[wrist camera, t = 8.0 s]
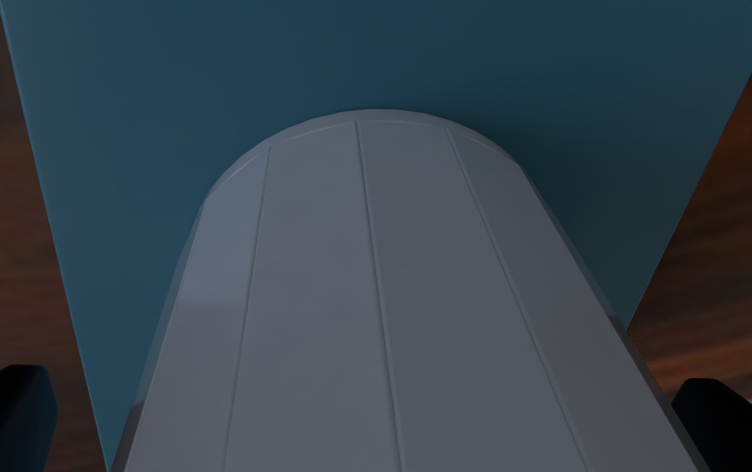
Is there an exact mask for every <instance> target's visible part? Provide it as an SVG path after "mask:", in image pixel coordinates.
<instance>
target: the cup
mask: <svg viewBox="0 0 752 472" xmlns="http://www.w3.org/2000/svg"><path fill="white" fill-rule="evenodd" d="M110 472H711V470H710V469H709V467H708V465H707V464H706V462H705V460H704V459H703V457H702V455H701V454H700V452H699V450H698V449H697V447H696V445H695V444H694V442H693V441H692V439H691V437H690V436H689V434H688V432H687V431H686V429H685V427H684V426H683V424H682V422H681V421H680V419H679V417H678V416H677V414H676V412H675V411H674V409H673V408H672V406H671V404H670V403H669V401H668V399H667V398H666V396H665V394H664V393H663V391H662V389H661V388H660V386H659V384H658V383H657V381H656V379H655V378H654V376H653V375H652V373H651V371H650V370H649V368H648V366H647V365H646V363H645V361H644V360H643V358H642V356H641V355H640V353H639V351H638V350H637V348H636V346H635V345H634V343H633V342H632V340H631V338H630V337H629V335H628V333H627V332H626V330H625V328H624V327H623V325H622V323H621V322H620V320H619V318H618V317H617V315H616V314H615V312H614V310H613V309H612V307H611V305H610V304H609V302H608V300H607V299H606V297H605V295H604V294H603V292H602V290H601V289H600V287H599V285H598V284H597V282H596V281H595V279H594V277H593V276H592V274H591V272H590V271H589V269H588V267H587V266H586V264H585V262H584V261H583V259H582V257H581V256H580V254H579V252H578V251H577V249H576V248H575V246H574V244H573V243H572V241H571V239H570V238H569V236H568V234H567V233H566V231H565V229H564V228H563V226H562V224H561V223H560V221H559V220H558V218H557V216H556V215H555V213H554V212H553V211H552V209H551V208H550V207H549V205H548V204H547V202H546V201H545V200H544V198H543V197H542V196H541V194H540V193H539V191H538V190H537V188H536V186H535V185H534V183H533V182H532V180H531V178H530V177H529V175H528V174H527V173H526V172H525V171H524V169H523V168H522V167H521V166H520V165H519V164H518V163H517V161H516V160H515V159H514V158H513V157H512V156H510V155H509V154H508V153H507V152H506V151H504V150H503V149H502V148H501V147H500V146H498V145H497V144H496V143H494V142H493V141H491V140H489V139H488V138H486V137H484V136H483V135H481V134H480V133H478V132H476V131H474V130H472V129H470V128H467V127H465V126H463V125H460V124H458V123H456V122H453V121H451V120H447V119H444V118H440V117H437V116H433V115H429V114H426V113H419V112H412V111H405V110H398V109H364V110H355V111H346V112H339V113H335V114H330V115H326V116H322V117H318V118H313V119H311V120H308V121H305V122H302V123H300V124H297V125H294V126H292V127H289V128H286V129H285V130H283V131H281V132H279V133H277V134H275V135H273V136H271V137H269V138H267V139H266V140H264V141H262V142H261V143H259V144H258V145H256V146H255V147H254V148H252V149H251V150H249V151H248V152H246V153H245V154H244V155H242V156H241V157H240V158H239V159H238V160H237V161H236V162H235V163H234V164H233V165H231V166H230V167H229V168H228V169H227V170H226V171H225V172H224V173H223V174H222V175H221V177H220V178H219V179H218V181H217V182H216V183H215V184H214V186H213V187H212V188H211V190H210V191H209V192H208V194H207V196H206V197H205V199H204V201H203V203H202V205H201V206H200V208H199V210H198V212H197V215H196V218H195V220H194V223H193V226H192V229H191V231H190V235H189V237H188V239H187V241H186V244H185V246H184V248H183V250H182V252H181V254H180V257H179V260H178V263H177V266H176V269H175V272H174V275H173V278H172V281H171V285H170V288H169V291H168V294H167V297H166V300H165V303H164V306H163V309H162V313H161V316H160V319H159V322H158V325H157V328H156V331H155V334H154V337H153V341H152V344H151V347H150V350H149V353H148V356H147V359H146V362H145V365H144V368H143V372H142V375H141V378H140V381H139V384H138V387H137V390H136V393H135V396H134V400H133V403H132V406H131V409H130V412H129V415H128V418H127V421H126V424H125V427H124V431H123V434H122V437H121V440H120V443H119V446H118V449H117V452H116V455H115V459H114V462H113V465H112V468H111V471H110Z"/></svg>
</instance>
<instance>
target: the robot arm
mask: <svg viewBox="0 0 752 472" xmlns="http://www.w3.org/2000/svg"><path fill="white" fill-rule="evenodd" d="M671 406H672V408H673V409H674V411H675V412H676V414H677V416H678V417H679V419H680V421H681V422H682V424H683V426H684V427H685V429H686V431H687V432H688V434H689V436H690V437H691V439H692V441H693V442H694V444H695V445H696V447H697V449H698V450H699V452H700V454H701V455H702V457H703V459H704V460H705V462H706V464H707V465H708V467H709V469H710V470H711V472H752V404H751V403H749V402H748V401H747V400H745V399H744V398H743V397H741V396H740V395H738V394H737V393H736V392H734V391H733V390H731V389H730V388H729V387H727V386H726V385H725V384H723V383H722V382H720V381H718V380H715V379H710V378H691V379H688V380H686V381H685V382H684V383H683V384H682V386H681V387H680V389H679V391H678V392H677V394H676V396H675V397H674V399H673V401H672V402H671ZM57 416H58V408H57V403H56V399H55V396H54V392H53V389H52V385H51V382H50V378H49V375H48V372H47V370H46V369H45V368H44V367H43V366H41V365H20V364H15V365H10V366H7V367H5V368H4V369H2V370H1V371H0V472H43V470H44V466H45V463H46V459H47V456H48V452H49V448H50V445H51V441H52V438H53V434H54V430H55V427H56V423H57Z"/></svg>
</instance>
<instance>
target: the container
mask: <svg viewBox="0 0 752 472" xmlns="http://www.w3.org/2000/svg"><path fill="white" fill-rule="evenodd" d="M0 14H1V18H2V23H3V27H4V31H5V35H6V40H7V44H8V48H9V53H10V57H11V61H12V65H13V70H14V74H15V78H16V82H17V87H18V91H19V95H20V100H21V104H22V108H23V112H24V117H25V121H26V125H27V130H28V134H29V138H30V142H31V147H32V151H33V155H34V160H35V164H36V168H37V172H38V177H39V181H40V185H41V190H42V194H43V198H44V202H45V207H46V211H47V215H48V220H49V224H50V228H51V232H52V237H53V241H54V245H55V250H56V254H57V258H58V262H59V267H60V271H61V275H62V280H63V284H64V288H65V292H66V297H67V301H68V305H69V309H70V314H71V318H72V322H73V327H74V331H75V335H76V339H77V344H78V348H79V352H80V357H81V361H82V365H83V369H84V374H85V378H86V382H87V387H88V391H89V395H90V399H91V404H92V408H93V412H94V417H95V421H96V425H97V429H98V434H99V438H100V442H101V447H102V451H103V455H104V459H105V464H106V468H107V472H110V471H111V468H112V465H113V462H114V459H115V455H116V452H117V449H118V446H119V443H120V440H121V437H122V434H123V431H124V427H125V424H126V421H127V418H128V415H129V412H130V409H131V406H132V403H133V400H134V396H135V393H136V390H137V387H138V384H139V381H140V378H141V375H142V372H143V368H144V365H145V362H146V359H147V356H148V353H149V350H150V347H151V344H152V341H153V337H154V334H155V331H156V328H157V325H158V322H159V319H160V316H161V313H162V309H163V306H164V303H165V300H166V297H167V294H168V291H169V288H170V285H171V281H172V278H173V275H174V272H175V269H176V266H177V263H178V260H179V257H180V254H181V252H182V250H183V248H184V246H185V244H186V241H187V239H188V237H189V235H190V231H191V229H192V226H193V223H194V220H195V218H196V215H197V212H198V210H199V208H200V206H201V205H202V203H203V201H204V199H205V197H206V196H207V194H208V192H209V191H210V190H211V188H212V187H213V186H214V184H215V183H216V182H217V181H218V179H219V178H220V177H221V175H222V174H223V173H224V172H225V171H226V170H227V169H228V168H229V167H230V166H231V165H233V164H234V163H235V162H236V161H237V160H238V159H239V158H240V157H241V156H242V155H244V154H245V153H246V152H248V151H249V150H251V149H252V148H254V147H255V146H256V145H258V144H259V143H261V142H262V141H264V140H266V139H267V138H269V137H271V136H273V135H275V134H277V133H279V132H281V131H283V130H285V129H286V128H289V127H292V126H294V125H297V124H300V123H302V122H305V121H308V120H311V119H313V118H318V117H322V116H326V115H330V114H335V113H339V112H346V111H355V110H364V109H398V110H405V111H412V112H419V113H426V114H429V115H433V116H437V117H440V118H444V119H447V120H451V121H453V122H456V123H458V124H460V125H463V126H465V127H467V128H470V129H472V130H474V131H476V132H478V133H480V134H481V135H483V136H484V137H486V138H488V139H489V140H491V141H493V142H494V143H496V144H497V145H498V146H500V147H501V148H502V149H503V150H504V151H506V152H507V153H508V154H509V155H510V156H512V157H513V158H514V159H515V160H516V161H517V163H518V164H519V165H520V166H521V167H522V168H523V169H524V171H525V172H526V173H527V174H528V175H529V177H530V178H531V180H532V182H533V183H534V185H535V186H536V188H537V190H538V191H539V193H540V194H541V196H542V197H543V198H544V200H545V201H546V202H547V204H548V205H549V207H550V208H551V209H552V211H553V212H554V213H555V215H556V216H557V218H558V220H559V221H560V223H561V224H562V226H563V228H564V229H565V231H566V233H567V234H568V236H569V238H570V239H571V241H572V243H573V244H574V246H575V248H576V249H577V251H578V252H579V254H580V256H581V257H582V259H583V261H584V262H585V264H586V266H587V267H588V269H589V271H590V272H591V274H592V276H593V277H594V279H595V281H596V282H597V284H598V285H599V287H600V289H601V290H602V292H603V294H604V295H605V297H606V299H607V300H608V302H609V304H610V305H611V307H612V309H613V310H614V312H615V314H616V315H617V317H618V318H619V320H620V322H621V323H622V325H623V327H624V328H625V330H626V329H627V327H628V325H629V323H630V321H631V319H632V317H633V315H634V313H635V311H636V309H637V307H638V305H639V303H640V301H641V299H642V297H643V295H644V293H645V291H646V288H647V286H648V284H649V282H650V280H651V278H652V276H653V274H654V272H655V270H656V268H657V266H658V264H659V262H660V260H661V258H662V256H663V254H664V252H665V250H666V248H667V246H668V244H669V241H670V239H671V237H672V235H673V233H674V231H675V229H676V227H677V225H678V223H679V221H680V219H681V217H682V215H683V213H684V211H685V209H686V207H687V205H688V203H689V201H690V199H691V197H692V194H693V192H694V190H695V188H696V186H697V184H698V182H699V180H700V178H701V176H702V174H703V172H704V170H705V168H706V166H707V164H708V162H709V160H710V158H711V156H712V154H713V152H714V150H715V147H716V145H717V143H718V141H719V139H720V137H721V135H722V133H723V131H724V129H725V127H726V125H727V123H728V121H729V119H730V117H731V115H732V113H733V111H734V109H735V107H736V105H737V102H738V100H739V98H740V96H741V94H742V92H743V90H744V88H745V86H746V84H747V82H748V80H749V78H750V76H751V74H752V0H0Z"/></svg>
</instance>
